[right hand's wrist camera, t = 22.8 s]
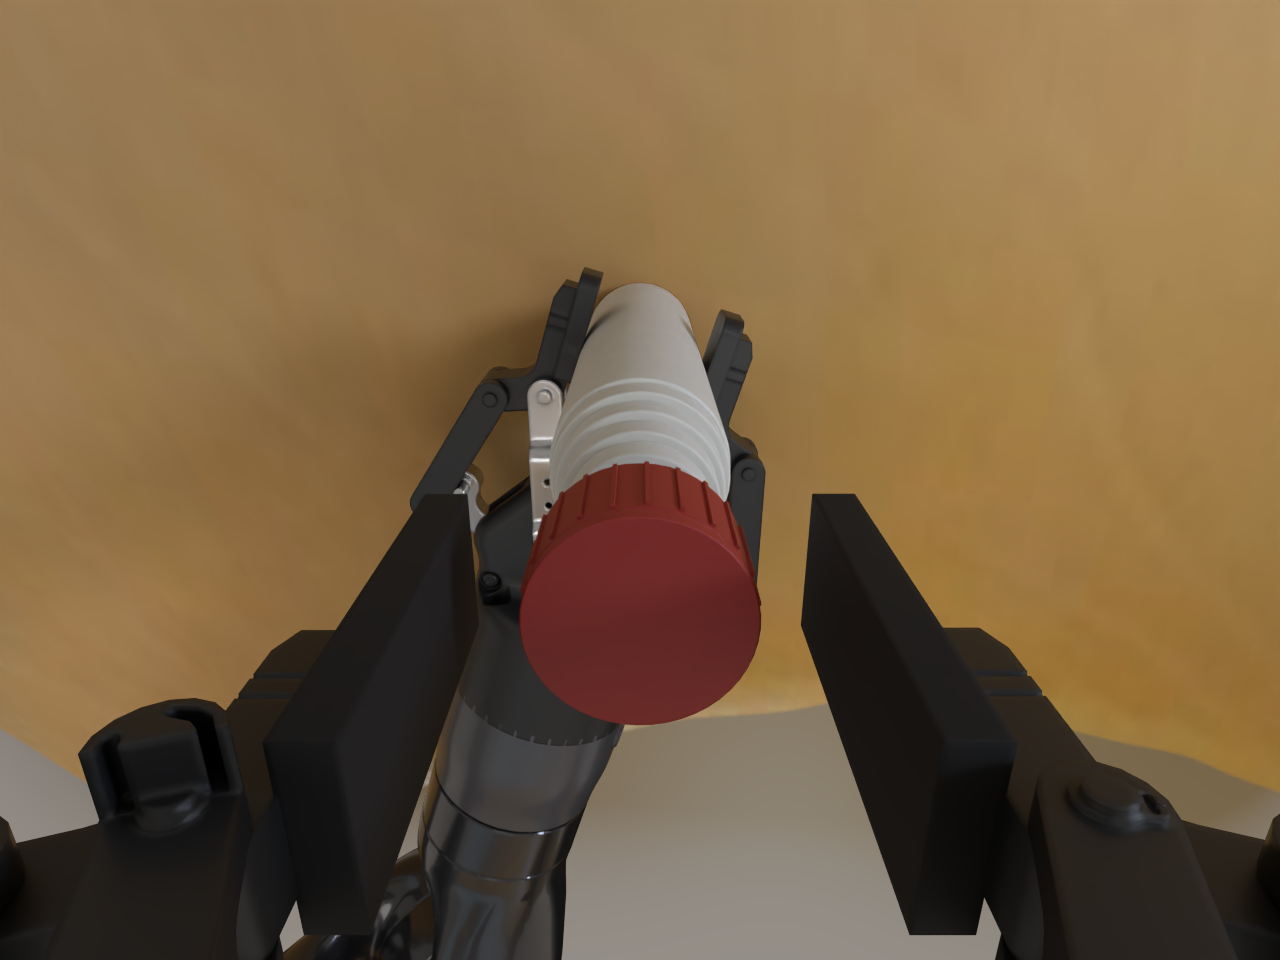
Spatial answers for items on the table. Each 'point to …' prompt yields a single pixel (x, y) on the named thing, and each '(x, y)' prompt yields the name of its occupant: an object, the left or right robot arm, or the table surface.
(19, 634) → the table surface
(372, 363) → the table surface
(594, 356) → the bottle
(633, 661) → the cap
